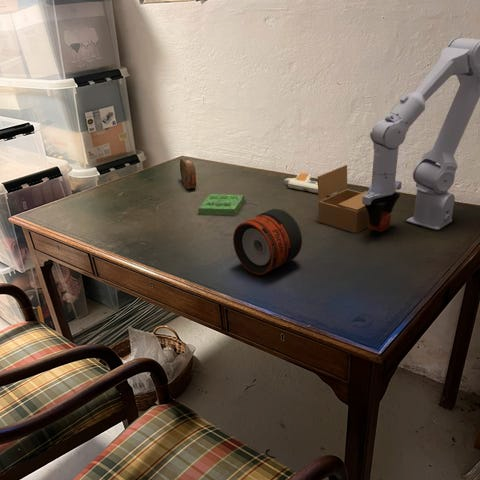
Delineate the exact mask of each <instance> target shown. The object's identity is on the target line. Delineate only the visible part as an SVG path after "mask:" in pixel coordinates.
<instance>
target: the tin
mask: <svg viewBox="0 0 480 480" xmlns="http://www.w3.org/2000/svg"><path fill="white" fill-rule="evenodd" d="M179 173H180V178H181V182H182V184H183V185H184V186H185V188H186V189H187V190H191V189H195V188H196V187H197V172H196V167H195V164H194V163H193V162H192V161H191V159H190V158H180V161H179Z"/></svg>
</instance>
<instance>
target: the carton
mask: <svg viewBox="0 0 480 480" xmlns="http://www.w3.org/2000/svg"><path fill="white" fill-rule="evenodd" d="M368 191H369V190H365V191H363V192H361V191H358V190H353V189H350V188H349V189H348V188H345V189H343V190H342V191H341V190H340V191H338V192H337V194H335V195H332V196H327V197H325V198H324V199H320V200H319V201H318V217H317V222H318V223H322V224H324V225H328V226H331V227H334V228H337V229H341V230H344V231H347V232H349V233H354V234H358V233H359V232H361V231H363V230H365V229H367V228H368V226H369V214H368V211H367V208H366V206H365V205H364V204H362V197H363V196H364V195H365V194H366V193H367V192H368Z"/></svg>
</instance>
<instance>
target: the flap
mask: <svg viewBox="0 0 480 480" xmlns="http://www.w3.org/2000/svg"><path fill="white" fill-rule="evenodd" d="M317 183H318V193H317V198H318V200H322V199H323V198H327V197H329V196H328V195H330V194H332V193H335V192H337V191H338V192H340V191H341V190H344V189H347V188H348V164H344V165H343V166H340V167H338V168H334V169H332V170H330V171H328V172H325V173H323V174H321V175H318V176H317ZM338 192H337V193H338Z"/></svg>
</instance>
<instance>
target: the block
mask: <svg viewBox="0 0 480 480" xmlns="http://www.w3.org/2000/svg"><path fill="white" fill-rule="evenodd" d="M391 218H392V212H391V213H389V212H385V211H382V214H381V219H380V223H379V226H377V227H376V226H372V225H371V224H370V219H369V226H368V227H367V228H368V229H370V230H372V231H377V232H380V233H382V232H384V231H386V230H387V229H389V228H390V227H391V220H392V219H391Z"/></svg>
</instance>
